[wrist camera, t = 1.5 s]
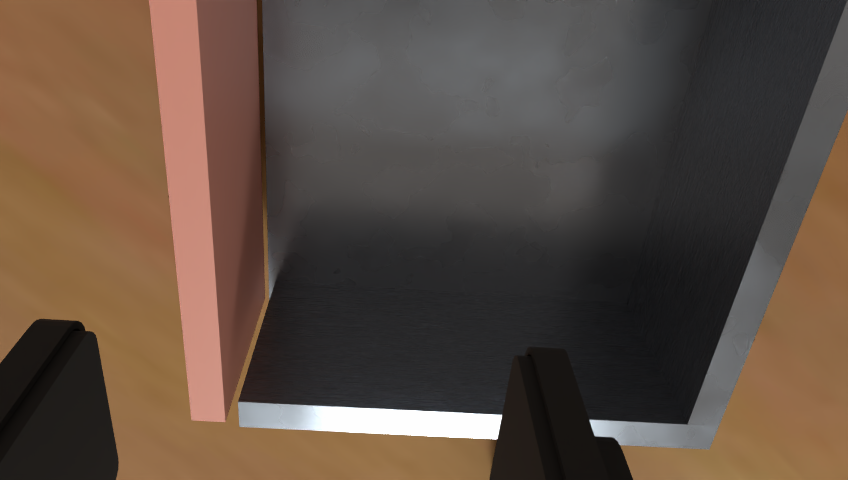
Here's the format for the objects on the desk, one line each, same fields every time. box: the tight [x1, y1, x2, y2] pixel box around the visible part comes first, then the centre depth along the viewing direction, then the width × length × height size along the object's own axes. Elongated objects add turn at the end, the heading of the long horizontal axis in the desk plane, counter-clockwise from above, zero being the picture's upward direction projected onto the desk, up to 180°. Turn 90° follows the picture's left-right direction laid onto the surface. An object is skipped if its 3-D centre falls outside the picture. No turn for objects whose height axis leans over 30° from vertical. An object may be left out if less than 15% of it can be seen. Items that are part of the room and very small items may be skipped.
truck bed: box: [238, 0, 848, 449], centre depth 25 cm, size 18×22×11 cm
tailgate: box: [149, 0, 265, 422], centre depth 23 cm, size 1×22×8 cm, turn 175°
